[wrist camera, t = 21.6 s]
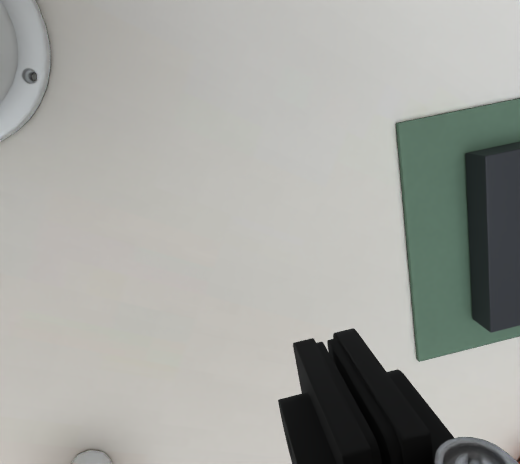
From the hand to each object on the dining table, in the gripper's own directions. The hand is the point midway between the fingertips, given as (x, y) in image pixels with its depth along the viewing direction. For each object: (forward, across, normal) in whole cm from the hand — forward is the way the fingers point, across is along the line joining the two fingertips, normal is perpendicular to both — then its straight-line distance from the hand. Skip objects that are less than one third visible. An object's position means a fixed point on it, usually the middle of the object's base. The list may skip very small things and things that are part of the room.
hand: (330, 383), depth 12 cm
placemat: (+21, -18, +6) cm, 29 cm away
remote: (+19, -20, +6) cm, 28 cm away
